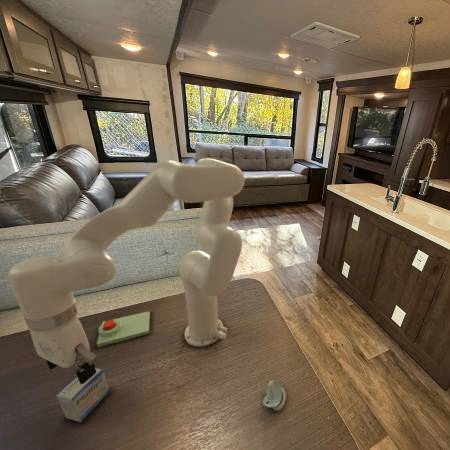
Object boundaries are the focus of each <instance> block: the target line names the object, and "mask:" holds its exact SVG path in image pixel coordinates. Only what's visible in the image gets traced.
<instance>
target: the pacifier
mask: <svg viewBox="0 0 450 450" xmlns="http://www.w3.org/2000/svg"><path fill="white" fill-rule="evenodd" d="M265 393H266V395H265V396H264V398H263V400H262V405H263V406H264V407H266V408H270V409H273V410H274V411H280V410H281V409H283V408H284V406H285V403H286V400H287V393H286V390H285V388H284V387H283V386H282V385H281V383H280V382H279V381H278V380H276V379H271V380H269V381H268V382H267V383H266V387H265Z"/></svg>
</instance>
